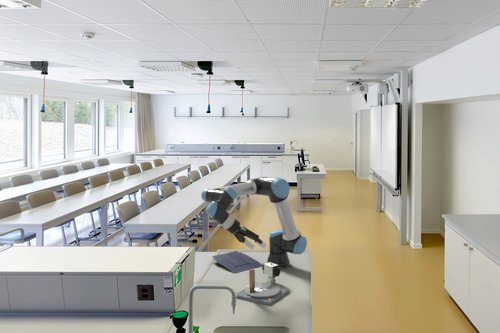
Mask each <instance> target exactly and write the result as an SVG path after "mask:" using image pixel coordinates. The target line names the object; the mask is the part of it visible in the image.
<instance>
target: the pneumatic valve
mask: <svg viewBox="0 0 500 333" xmlns="http://www.w3.org/2000/svg"><path fill="white" fill-rule="evenodd" d="M262 265H263V266H261V269H262V271H263V272H262V273H263V274H264V275H266V276H267V278H266V282H269V283H274V284H276V281H277V280H276V278H277V277H280V274H281V268H279V265H276V264H275V263H274V264H273V263H271V262H267V261H266V262H264V263H263V264H262Z"/></svg>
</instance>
